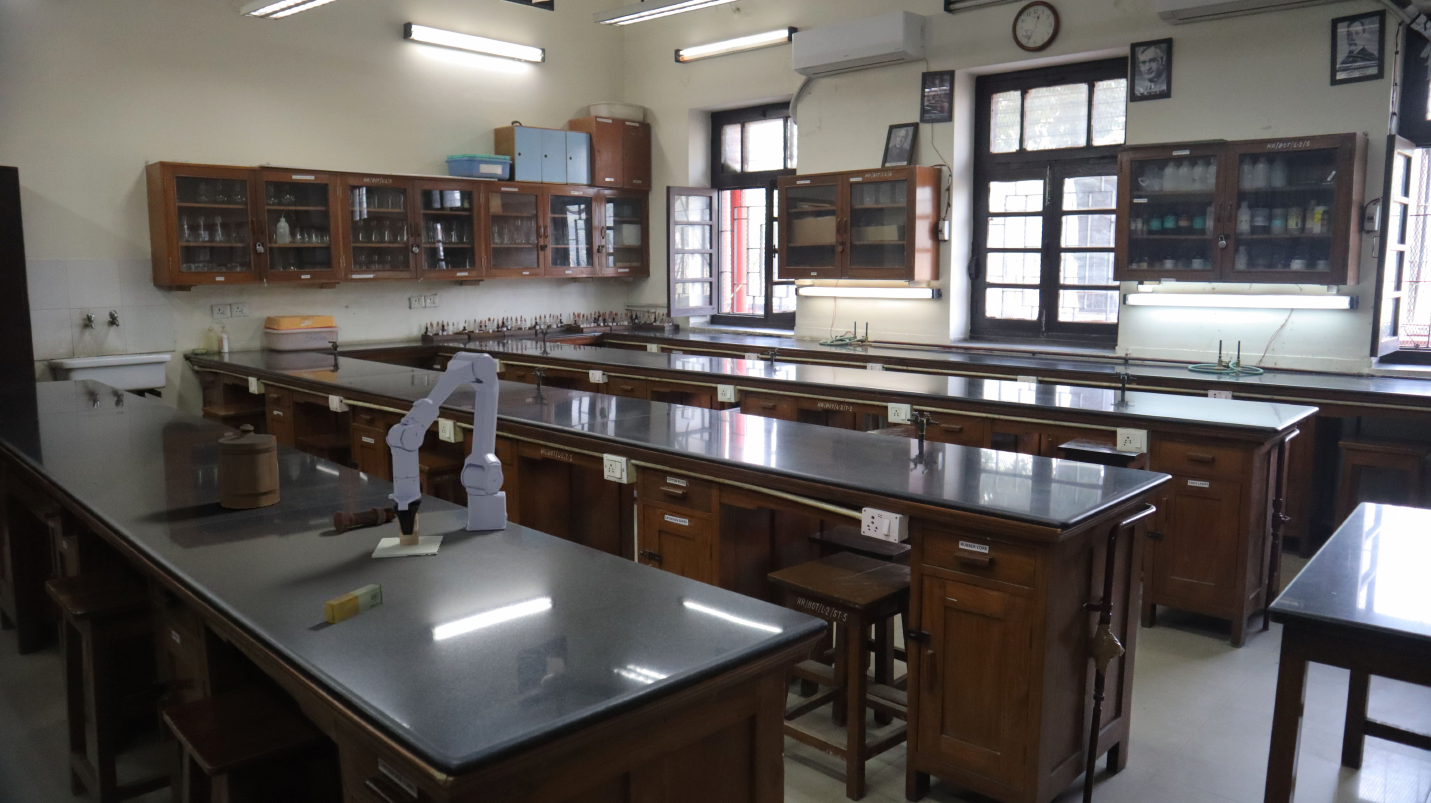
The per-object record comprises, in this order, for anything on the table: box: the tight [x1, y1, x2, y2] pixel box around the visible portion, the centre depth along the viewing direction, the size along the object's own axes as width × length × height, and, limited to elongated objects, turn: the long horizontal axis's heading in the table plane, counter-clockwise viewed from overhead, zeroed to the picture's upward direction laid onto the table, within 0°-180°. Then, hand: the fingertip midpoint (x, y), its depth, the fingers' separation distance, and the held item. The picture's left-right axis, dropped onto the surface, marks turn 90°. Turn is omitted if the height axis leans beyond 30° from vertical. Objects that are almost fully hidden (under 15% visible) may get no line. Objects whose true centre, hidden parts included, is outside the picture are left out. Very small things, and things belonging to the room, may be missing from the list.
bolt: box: [333, 506, 397, 533], centre depth 244 cm, size 6×5×15 cm
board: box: [371, 535, 444, 559], centre depth 225 cm, size 14×14×1 cm
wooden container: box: [217, 423, 281, 510], centre depth 266 cm, size 15×15×22 cm
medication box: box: [324, 583, 384, 624], centre depth 183 cm, size 12×3×4 cm, turn 155°
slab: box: [398, 512, 420, 546], centre depth 225 cm, size 4×2×7 cm, turn 100°
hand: (408, 532), depth 226 cm, fingers closed on slab, 2 cm apart
